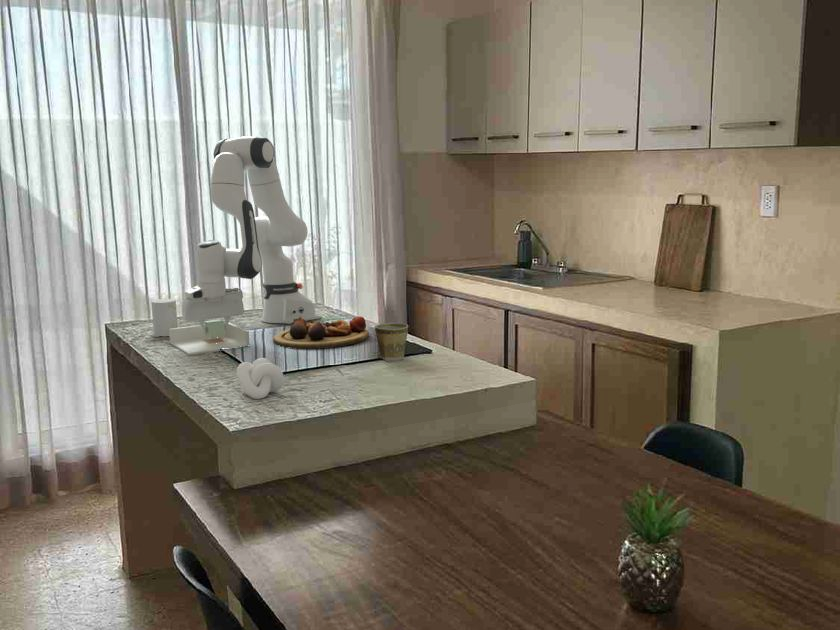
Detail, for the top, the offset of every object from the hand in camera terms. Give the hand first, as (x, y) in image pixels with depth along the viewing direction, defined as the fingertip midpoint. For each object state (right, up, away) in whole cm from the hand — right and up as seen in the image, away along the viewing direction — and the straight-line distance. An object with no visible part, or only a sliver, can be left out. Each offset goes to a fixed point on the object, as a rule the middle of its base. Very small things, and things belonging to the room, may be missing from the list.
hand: (214, 331), depth 274 cm
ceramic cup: (+60, -8, -25) cm, 66 cm away
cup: (-21, -2, +15) cm, 25 cm away
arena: (-1, -4, -3) cm, 6 cm away
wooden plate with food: (+35, -3, +3) cm, 35 cm away
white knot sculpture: (+28, -15, -62) cm, 70 cm away
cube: (0, -2, 0) cm, 2 cm away
